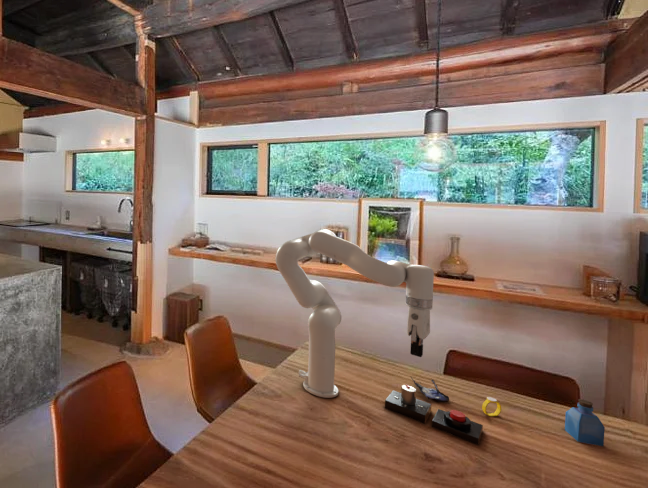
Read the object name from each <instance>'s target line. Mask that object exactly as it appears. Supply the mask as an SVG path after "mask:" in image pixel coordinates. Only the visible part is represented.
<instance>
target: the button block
mask: <svg viewBox="0 0 648 488" xmlns="http://www.w3.org/2000/svg"><path fill="white" fill-rule="evenodd" d="M450 411H451V410H446V411H445V410H443V409H440V408H438V409H437V410H436V413H435V415H434V416H433V418H432V420H431V427H432V428H434V429H436V430H439V431H441V432H444V433H446V434H449V435H452V436H454V437H456V438H459V439H462V440H464V441H467V442H468V443H472V444H474V445H477V446H479V444H480V440H481V437H482V435H483V430H484V429H483V428H484V425H483V424H482V423H479V422H476V421H473V420H471V419H470V418H469V417H468V416H466V415H465V422H460V421H457V420H454V419H452V418H451V417H450Z"/></svg>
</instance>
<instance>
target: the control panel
mask: <svg viewBox="0 0 648 488" xmlns="http://www.w3.org/2000/svg"><path fill="white" fill-rule="evenodd" d="M384 409H386V410H388V411H391V412H393V413H396V414H399V415H401V416H404V417H406V418H409V419H411V420H413V421H416V422H419V423H421V424H424V425H425V424H426V422H427V421H428V419H429V417H430V416H431V413H432V403H430V402H427V401H425V400H421V399H419V398H416V404H415V405H407V404H405V403H403V402H402V401H401V391H396V390H394V389H393V390H392V391H391V392H390V393H389V395H388V396H387V397H386V398H385V400H384Z"/></svg>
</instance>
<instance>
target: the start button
mask: <svg viewBox="0 0 648 488" xmlns="http://www.w3.org/2000/svg"><path fill="white" fill-rule="evenodd" d="M449 411H450V417H451V418H452V419H454V420H457V421H460V422H465V416H466V414H465V413H463V412H462V411H460V410H456V409H451V410H449Z"/></svg>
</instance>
